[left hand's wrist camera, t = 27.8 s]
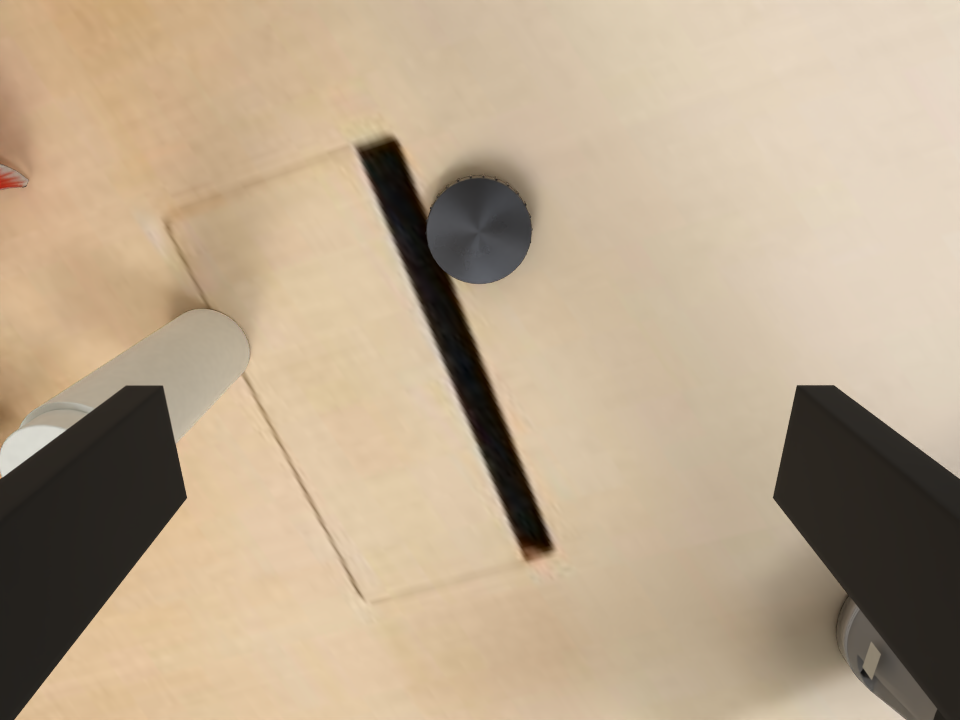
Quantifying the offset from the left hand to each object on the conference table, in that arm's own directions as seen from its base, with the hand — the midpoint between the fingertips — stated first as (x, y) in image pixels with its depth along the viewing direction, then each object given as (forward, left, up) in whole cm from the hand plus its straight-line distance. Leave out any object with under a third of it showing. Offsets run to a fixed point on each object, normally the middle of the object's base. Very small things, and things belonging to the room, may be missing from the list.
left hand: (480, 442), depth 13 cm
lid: (0, 0, -25) cm, 25 cm away
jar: (+15, +13, -26) cm, 33 cm away
